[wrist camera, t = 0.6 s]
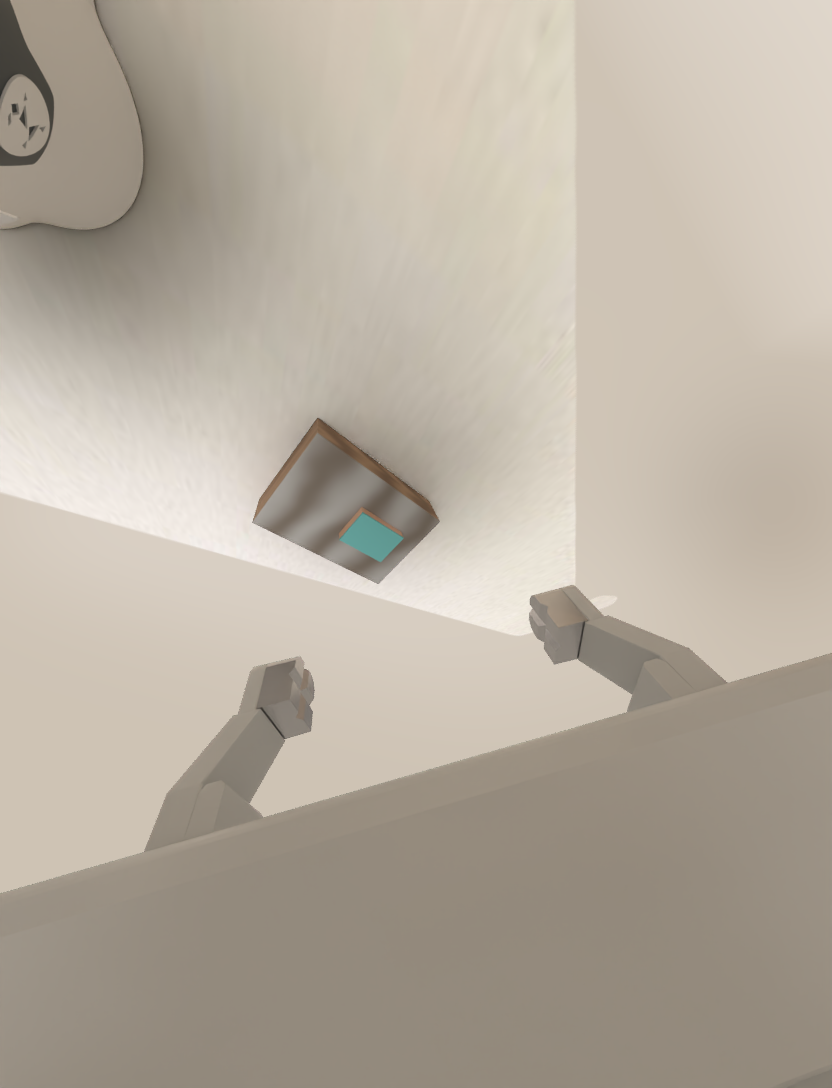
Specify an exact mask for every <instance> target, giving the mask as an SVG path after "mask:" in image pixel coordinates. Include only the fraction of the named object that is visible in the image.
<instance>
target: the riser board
mask: <svg viewBox="0 0 832 1088" xmlns="http://www.w3.org/2000/svg"><path fill="white" fill-rule="evenodd" d="M361 507H363V508H364V509H366V510H368V511H369V512H371V513H372V514H374V515H376V516H377V517H379V518H380V519H382V520H383V521H385V522H387V523H388V524H390V525H391V526H393V527H394V528H396V529H398V530H399V531H401V532H402V535H403V538H404V539H403V540H402V541H401V542H400V543H399V544H398V545H397V546H396V547H395V548H394V549H393V550H392V551H391V552H390V553H389V554H388V555H387V556H386V557H385V558H384V559H383V560H382V561H381V562H379V561H377V560H375V559H374V558H372V557H370V556H368V555H366V554H364V553H362V552H361V551H359V550H357V549H355V548H353V547H351V546H349V545H348V544H346V543H344V542H342V541H340V540H339V533H340V531H341V530H342V529H343V528H344V527H345V526H346V524H347V523H348V522H349V521H350V520H351V519H352V517H353V516H354V515H355V514H356V513H357V512H358V511H359V509H360V508H361ZM439 522H440V521H439V519H438V517H437V515H436V513H435V512H434V510H433V508H432V506H431V504H430V502H429V501H428V500H427V499H425V498H424V497H423V496H421V495H420V494H419V493H417V492H416V491H415V490H413V489H412V488H411V487H409V486H408V485H407V484H405V483H404V482H403V481H401V480H400V479H399V478H397V477H396V476H395V475H393V474H392V473H391V472H389V471H388V470H387V469H385V468H384V467H383V466H381V465H380V464H379V463H377V462H376V461H375V460H373V459H372V458H371V457H369V456H368V455H367V454H365V453H364V452H363V451H361V450H360V449H359V448H357V447H356V446H355V445H353V444H352V443H351V442H349V441H348V440H347V439H345V438H344V437H343V436H341V435H340V434H339V433H337V432H336V431H335V430H333V429H332V428H331V427H330V426H328V425H327V424H326V423H324V422H323V421H322V420H320V419H319V418H317V419H316V421H315V422H314V424H313V425H312V426H311V428H310V429H309V431H308V432H307V433H306V435H305V436H304V438H303V439H302V440H301V442H300V443H299V445H298V446H297V447H296V449H295V450H294V451H293V453H292V454H291V456H290V457H289V458H288V460H287V461H286V463H285V464H284V465H283V467H282V468H281V470H280V471H279V472H278V474H277V475H276V477H275V478H274V479H273V481H272V482H271V484H270V485H269V486H268V488H267V489H266V491H265V492H264V493H263V495H262V496H261V498H260V499H259V502H258V505H257V509H256V512H255V516H254V519H253V522H252V523H254V524H256V525H258V526H260V527H262V528H265V529H267V530H269V531H271V532H273V533H275V534H277V535H279V536H281V537H283V538H285V539H287V540H289V541H291V542H293V543H295V544H297V545H299V546H301V547H303V548H305V549H307V550H310V551H312V552H314V553H316V554H318V555H320V556H322V557H324V558H326V559H328V560H330V561H332V562H334V563H336V564H338V565H340V566H342V567H344V568H346V569H348V570H350V571H353V572H355V573H357V574H359V575H361V576H363V577H365V578H367V579H369V580H371V581H373V582H375V583H377V584H379V583H380V582H381V581H382V580H383V579H384V578H385V577H386V576H387V575H388V574H389V573H390V572H391V571H392V570H393V569H394V568H395V567H396V566H397V565H398V564H399V563H400V561H401V560H402V559H403V558H404V557H405V556H406V555H407V554H408V553H409V552H410V551H411V550H412V549H413V548H414V547H415V546H416V545H417V544H418V543H419V542H420V541H421V540H422V539H423V538H424V537H425V536H426V535H427V534H428V533H429V532H430V531H431V530H432V529H433V528H434V527H435V526H436V525H437V524H438V523H439Z"/></svg>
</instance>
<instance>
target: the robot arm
mask: <svg viewBox="0 0 832 1088" xmlns="http://www.w3.org/2000/svg"><path fill="white" fill-rule="evenodd" d="M142 173H143V143H142V135H141V129H140V124H139V119H138V115H137V111H136V108H135V104H134V101H133V98H132V95H131V92H130V89H129V86H128V84H127V81H126V78H125V76H124V74H123V71H122V69H121V67H120V65H119V62H118V60H117V58H116V56H115V54H114V52H113V50H112V48H111V46H110V44H109V42H108V39H107V37H106V35H105V33H104V31H103V28H102V26H101V24H100V21H99V19H98V16H97V13H96V10H95V5H94V0H0V229H10V228H15V227H19V226H23V225H26V224H29V223H32V222H35V223H44V224H50V225H54V226H59V227H63V228H69V229H78V230H88V229H96V228H100V227H104V226H107V225H109V224H111V223H113V222H115V221H116V220H118V219H119V218H121V217H122V216H123V215H124V214H125V213H126V212H127V211H128V209H129V208H130V207H131V205H132V204H133V202H134V200H135V198H136V196H137V194H138V191H139V188H140V184H141V180H142ZM530 605H531V606H532V608H533V609H532V610H531V612H530V613H529V620H530V624H531V628H532V630H533V632H534V634H535V636H536V637H537V638H538V639H539V640H541V641H543V642H544V649H545V651H546V652H547V654H548V656H549V657H550V659H551V660H552V662H553V663H554V664H558V663H562V662H566V661H570V660H574V659H578V660H579V661H581V662H583V663H584V664H585V665H587V666H589V667H590V668H592V669H593V670H595V671H596V672H598V673H600V674H601V675H603V676H604V677H606V678H607V679H609V680H610V681H612V682H614V683H615V684H617V685H618V686H620V687H622V688H623V689H625V690H626V691H628V692H629V693H631V694H632V698H631V701H630V704H629V706H628V710H627V712H626V713H623V714H619V715H617V716H613V717H609V718H606V719H602V720H599V721H595V722H592V723H588V724H585V725H582V726H578V727H575V728H571V729H568V730H564V731H561V732H558V733H554V734H551V735H547V736H544V737H540V738H537V739H533V740H530V741H526V742H523V743H519V744H516V745H512V746H509V747H506V748H502V749H498V750H495V751H492V752H488V753H485V754H481V755H478V756H474V757H471V758H467V759H464V760H460V761H457V762H453V763H450V764H447V765H443V766H440V767H436V768H433V769H429V770H426V771H422V772H419V773H415V774H413V775H409V776H405V777H402V778H398V779H395V780H391V781H388V782H385V783H381V784H378V785H374V786H371V787H368V788H364V789H360V790H357V791H353V792H350V793H346V794H343V795H340V796H336V797H333V798H329V799H326V800H322V801H319V802H315V803H312V804H309V805H305V806H302V807H298V808H295V809H292V810H288V811H284V812H281V813H277V814H274V815H271V816H267V817H264V818H263V816H262V815H261V813H260V812H258V811H257V810H256V809H255V808H253V807H252V806H251V805H250V804H249V803H250V801H251V800H252V798H253V796H254V794H255V792H256V791H257V789H258V787H259V786H260V784H261V782H262V780H263V779H264V777H265V775H266V773H267V771H268V770H269V768H270V766H271V765H272V763H273V761H274V759H275V758H276V756H277V754H278V752H279V751H280V749H281V747H282V745H283V744H284V742H285V740H284V739H287V738H290V737H293V736H297V735H300V734H303V733H307V732H310V731H311V725H312V714H313V711H312V710H311V708H310V706H309V705H310V703H311V702H312V701H313V699H314V682H313V679H312V676H311V673H310V672H309V671H308V670H306V669H304V661H303V660H302V658H301V657H294V658H289V659H285V660H281V661H276V662H272V663H269V664H264V665H260V666H256V667H253V669H252V670H251V671H250V674H249V678H248V681H247V685H246V688H245V692H244V695H243V698H242V702H241V706H240V709H239V712H238V715H234V716H233V717H232V718H231V719H230V720H229V721H228V722H227V724H226V725H225V726H224V727H223V728H222V730H221V731H220V732H219V733H218V734H217V735H216V737H215V738H214V739H213V740H212V741H211V742H210V744H209V745H208V746H207V747H206V748H205V749H204V751H203V752H202V753H201V754H200V756H199V757H198V758H197V759H196V760H195V761H194V762H193V764H192V765H191V766H190V767H189V768H188V770H187V771H186V772H185V773H184V774H183V776H182V777H181V778H180V779H179V780H178V781H177V783H176V784H175V785H174V786H173V787H172V788H171V790H170V791H169V792H168V793H167V795H166V797H165V800H164V803H163V805H162V808H161V810H160V813H159V815H158V818H157V820H156V823H155V825H154V828H153V830H152V833H151V835H150V838H149V841H148V843H147V846H146V848H145V851H144V852H143V853H140V854H136V855H133V856H129V857H126V858H122V859H119V860H115V861H112V862H108V863H105V864H101V865H98V866H94V867H91V868H87V869H84V870H80V871H77V872H73V873H70V874H66V875H63V876H60V877H56V878H53V879H49V880H46V881H43V882H39V883H35V884H32V885H28V886H25V887H22V888H18V889H14V890H11V891H7V892H4V893H0V1088H832V653H830V654H826V655H823V656H820V657H816V658H813V659H809V660H806V661H802V662H799V663H795V664H792V665H789V666H785V667H782V668H778V669H775V670H771V671H768V672H764V673H761V674H758V675H754V676H751V677H747V678H744V679H740V680H737V681H734V682H730V683H727V682H726V681H725V680H724V679H723V678H722V677H720V676H719V675H718V674H717V673H716V672H715V671H714V670H713V669H712V668H710V667H709V666H708V665H707V664H706V663H705V662H704V661H703V660H701V659H700V658H699V657H698V656H697V655H696V654H695V653H694V652H693V651H691V650H690V649H689V648H687V647H684V646H682V645H679V644H677V643H674V642H672V641H670V640H667V639H665V638H662V637H660V636H657V635H655V634H652V633H650V632H648V631H645V630H643V629H640V628H638V627H635V626H633V625H630V624H628V623H626V622H623V621H621V620H618V619H616V618H613V617H611V616H603V615H602V614H601V612H600V611H599V610H598V609H597V608H596V607H595V606H594V605H593V604H592V603H591V602H590V601H589V600H588V599H587V598H586V597H585V596H584V595H583V594H582V593H581V592H580V591H579V589H577V587H576V586H574V585H570V586H566V587H563V588H559V589H555V590H551V591H547V592H544V593H540V594H536V595H532V596H531V598H530Z"/></svg>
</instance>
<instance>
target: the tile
mask: <svg viewBox="0 0 832 1088" xmlns="http://www.w3.org/2000/svg"><path fill="white" fill-rule="evenodd" d="M403 539H404V538H403V535H402V532H401V531H399V530H398V529H396V528H394V527H393V526H391V525H390V524H388V523H387V522H385V521H383V520H382V519H380V518H379V517H377V516H376V515H374V514H372V513H371V512H369V511H368V510H366V509H364V508H363V507H361V508H360V509H359V511H358V512H357V513H356V514H355V515H354V516H353V517H352V519H351V520H350V521H349V522H348V523H347V524H346V526H345V527H344V528H343V529H342V530H341V531H340V533H339V540H340V541H342V542H344V543H346V544H348V545H349V546H351V547H353V548H355V549H357V550H359V551H361V552H362V553H364V554H366V555H368V556H370V557H372V558H374V559H375V560H377V561H379V562H381V561H382V560H383V559H384V558H385V557H386V556H387V555H388V554H389V553H390V552H391V551H392V550H393V549H394V548H395V547H396V546H397V545H398V544H399V543H400V542H401V541H402V540H403Z"/></svg>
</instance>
